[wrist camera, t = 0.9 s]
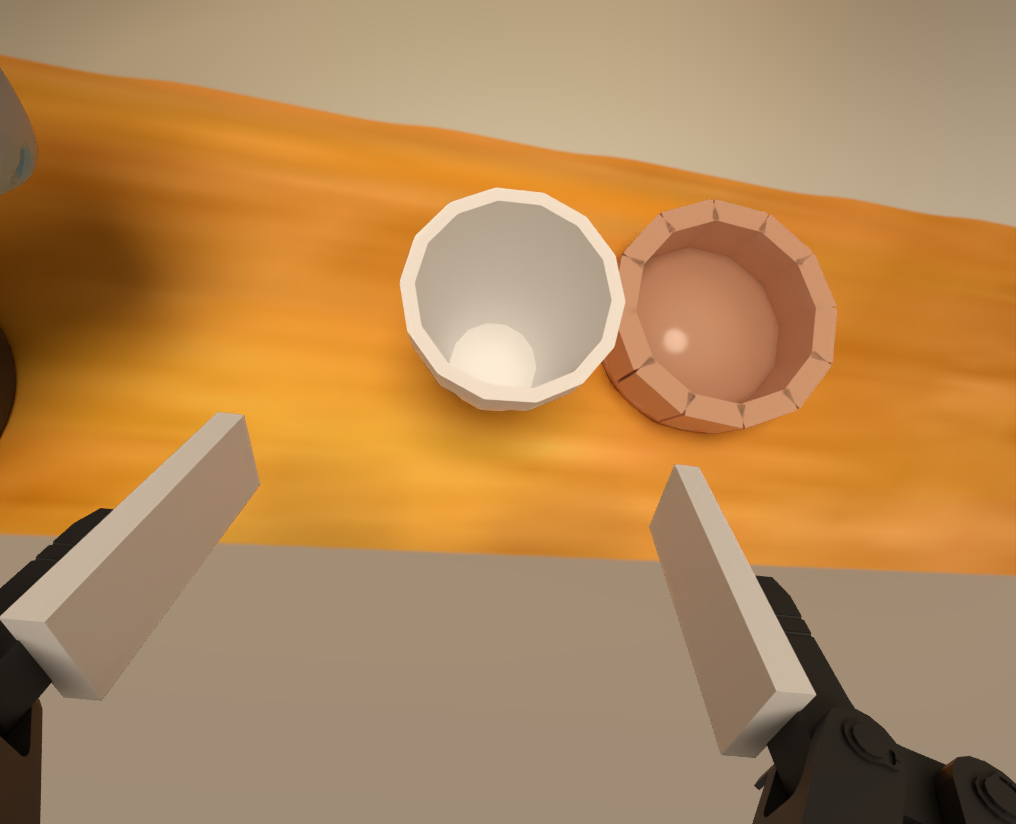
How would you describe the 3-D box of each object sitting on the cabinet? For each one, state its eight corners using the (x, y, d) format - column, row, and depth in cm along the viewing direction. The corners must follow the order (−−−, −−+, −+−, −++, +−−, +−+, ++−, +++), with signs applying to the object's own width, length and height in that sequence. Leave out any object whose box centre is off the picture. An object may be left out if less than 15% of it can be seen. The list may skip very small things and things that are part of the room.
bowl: (578, 407, 32) (597, 396, 27) (612, 217, 34) (635, 178, 30) (776, 451, 33) (825, 447, 29) (795, 263, 35) (843, 233, 31)
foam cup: (488, 277, 33) (507, 147, 20) (584, 362, 32) (666, 286, 20) (396, 372, 31) (351, 297, 18) (497, 462, 31) (524, 450, 18)
